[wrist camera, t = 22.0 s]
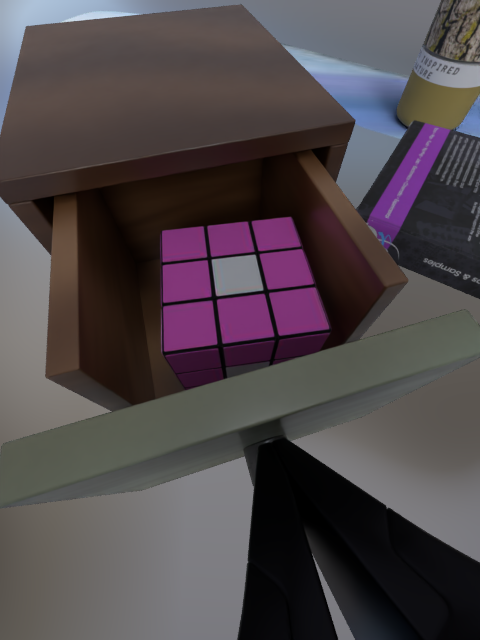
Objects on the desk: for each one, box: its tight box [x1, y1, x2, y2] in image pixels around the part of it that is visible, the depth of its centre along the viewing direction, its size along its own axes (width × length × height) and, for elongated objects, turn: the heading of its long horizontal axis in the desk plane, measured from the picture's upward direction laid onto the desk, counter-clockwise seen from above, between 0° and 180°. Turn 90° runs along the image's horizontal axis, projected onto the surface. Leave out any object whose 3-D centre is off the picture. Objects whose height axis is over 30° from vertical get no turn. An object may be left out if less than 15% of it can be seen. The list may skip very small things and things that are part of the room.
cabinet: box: [0, 5, 355, 255], centre depth 17 cm, size 15×13×11 cm
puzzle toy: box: [160, 217, 332, 390], centre depth 13 cm, size 6×6×6 cm
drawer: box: [0, 149, 480, 508], centre depth 13 cm, size 15×11×9 cm
